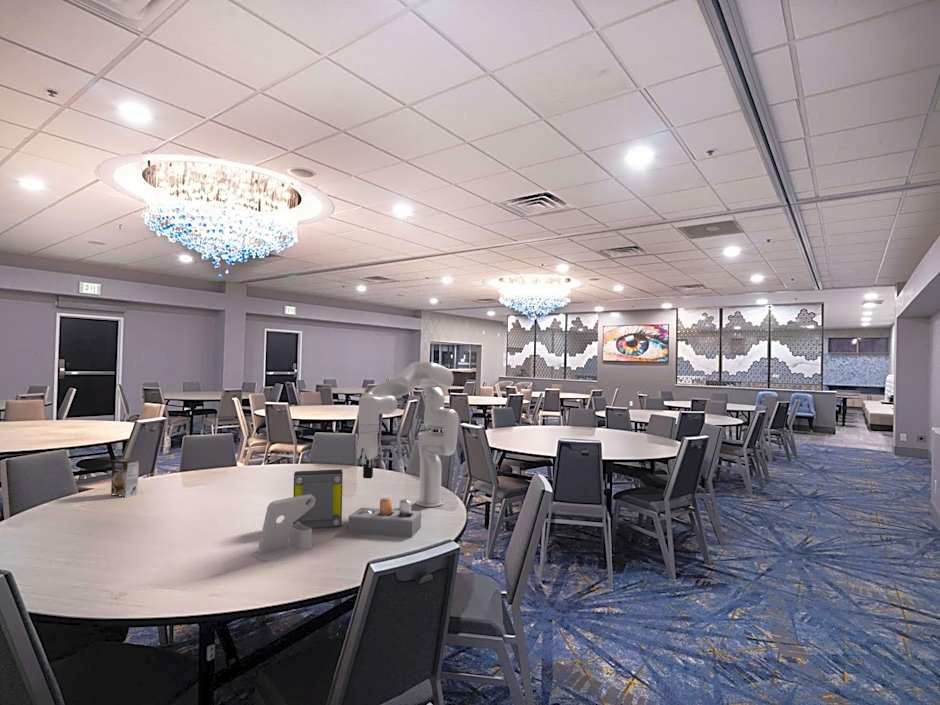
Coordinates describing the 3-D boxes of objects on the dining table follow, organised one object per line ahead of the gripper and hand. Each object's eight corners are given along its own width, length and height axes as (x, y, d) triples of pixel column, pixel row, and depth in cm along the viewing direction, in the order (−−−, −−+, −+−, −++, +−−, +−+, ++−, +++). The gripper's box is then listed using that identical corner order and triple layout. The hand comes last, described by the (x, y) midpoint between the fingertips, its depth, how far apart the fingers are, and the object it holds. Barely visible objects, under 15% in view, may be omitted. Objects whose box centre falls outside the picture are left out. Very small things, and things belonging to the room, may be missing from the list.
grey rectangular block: (360, 523, 202) (361, 507, 202) (420, 527, 198) (421, 511, 198) (348, 532, 190) (348, 516, 190) (412, 537, 186) (412, 520, 186)
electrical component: (292, 531, 192) (293, 476, 192) (293, 522, 201) (295, 470, 202) (341, 527, 196) (342, 474, 197) (340, 519, 206) (341, 468, 207)
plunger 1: (362, 522, 198) (363, 508, 198) (373, 523, 197) (374, 509, 197) (358, 526, 194) (358, 511, 194) (369, 527, 193) (370, 512, 193)
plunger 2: (401, 512, 196) (401, 498, 196) (412, 513, 195) (412, 499, 195) (397, 516, 191) (397, 501, 191) (409, 517, 190) (409, 502, 191)
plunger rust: (382, 511, 197) (382, 497, 197) (393, 512, 196) (393, 498, 196) (378, 514, 193) (378, 500, 193) (389, 515, 192) (389, 501, 192)
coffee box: (110, 495, 238) (111, 460, 238) (123, 492, 244) (124, 457, 244) (125, 497, 235) (126, 461, 236) (138, 494, 241) (139, 459, 242)
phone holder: (298, 541, 181) (300, 488, 181) (315, 548, 174) (316, 493, 174) (250, 554, 167) (251, 497, 168) (266, 562, 161) (267, 503, 161)
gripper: (366, 426, 204) (365, 473, 204) (351, 430, 190) (350, 481, 189) (384, 426, 203) (384, 474, 203) (371, 431, 188) (370, 482, 188)
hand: (367, 477), depth 196 cm, fingers closed
